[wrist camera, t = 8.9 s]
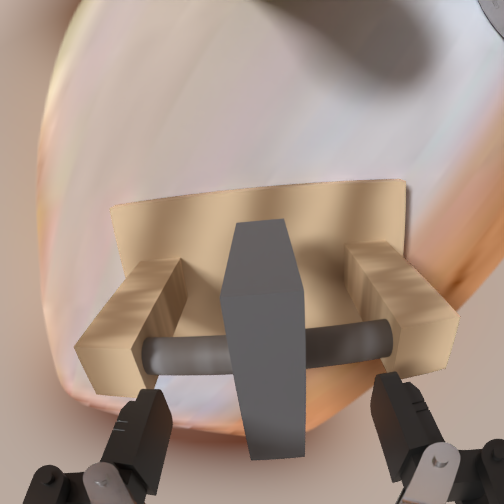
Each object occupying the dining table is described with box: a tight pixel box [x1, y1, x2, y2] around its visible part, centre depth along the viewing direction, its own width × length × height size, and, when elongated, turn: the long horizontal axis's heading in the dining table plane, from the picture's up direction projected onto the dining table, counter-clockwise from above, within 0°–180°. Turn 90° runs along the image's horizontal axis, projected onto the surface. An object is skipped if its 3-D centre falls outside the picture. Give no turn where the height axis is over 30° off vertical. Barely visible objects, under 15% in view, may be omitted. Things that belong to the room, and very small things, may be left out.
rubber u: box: [220, 218, 306, 460], centre depth 15 cm, size 2×9×8 cm, turn 6°
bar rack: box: [74, 179, 460, 398], centre depth 18 cm, size 20×11×11 cm, turn 96°
